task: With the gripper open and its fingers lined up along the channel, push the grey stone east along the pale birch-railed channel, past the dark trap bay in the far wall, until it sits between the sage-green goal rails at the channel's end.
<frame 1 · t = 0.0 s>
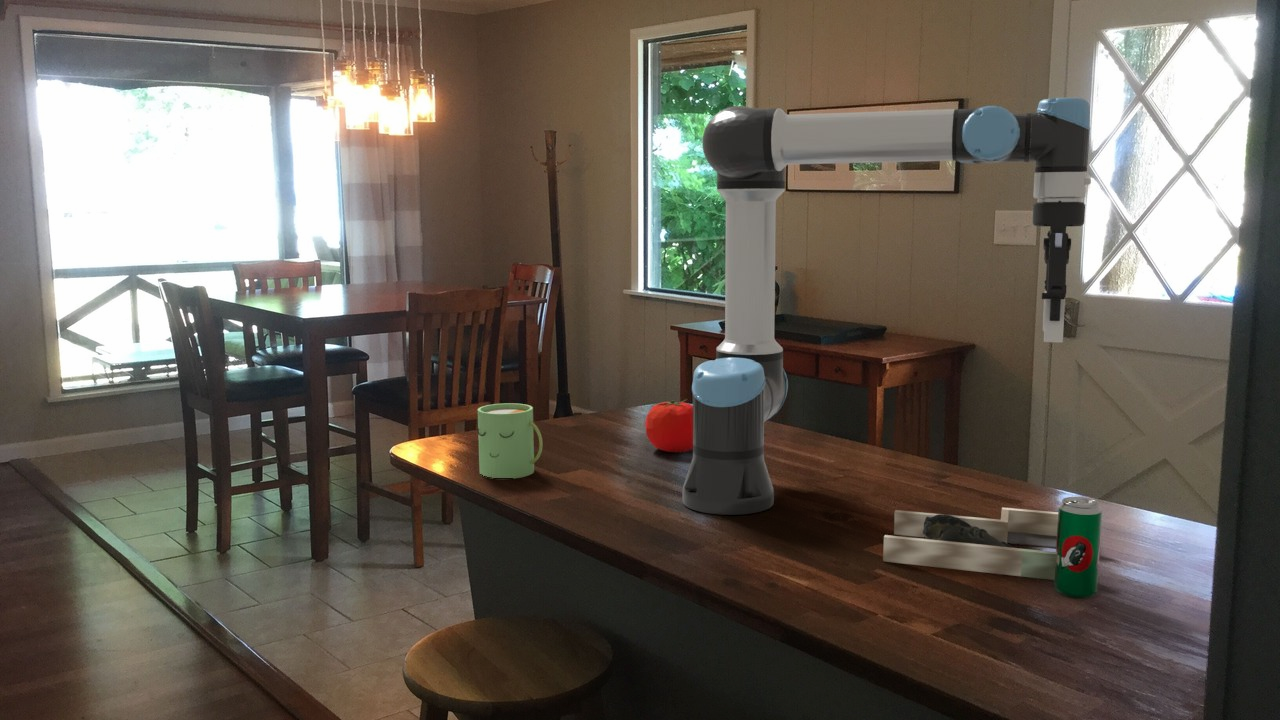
hand: (1052, 336, 166), 28 cm above the kitchen island, fingers open, 13 cm apart
soda can: (1075, 594, 134), on the kitchen island
tomato: (674, 451, 211), on the kitchen island
stone: (969, 557, 148), on the kitchen island
channel: (987, 556, 147), on the kitchen island
mug: (512, 473, 195), on the kitchen island
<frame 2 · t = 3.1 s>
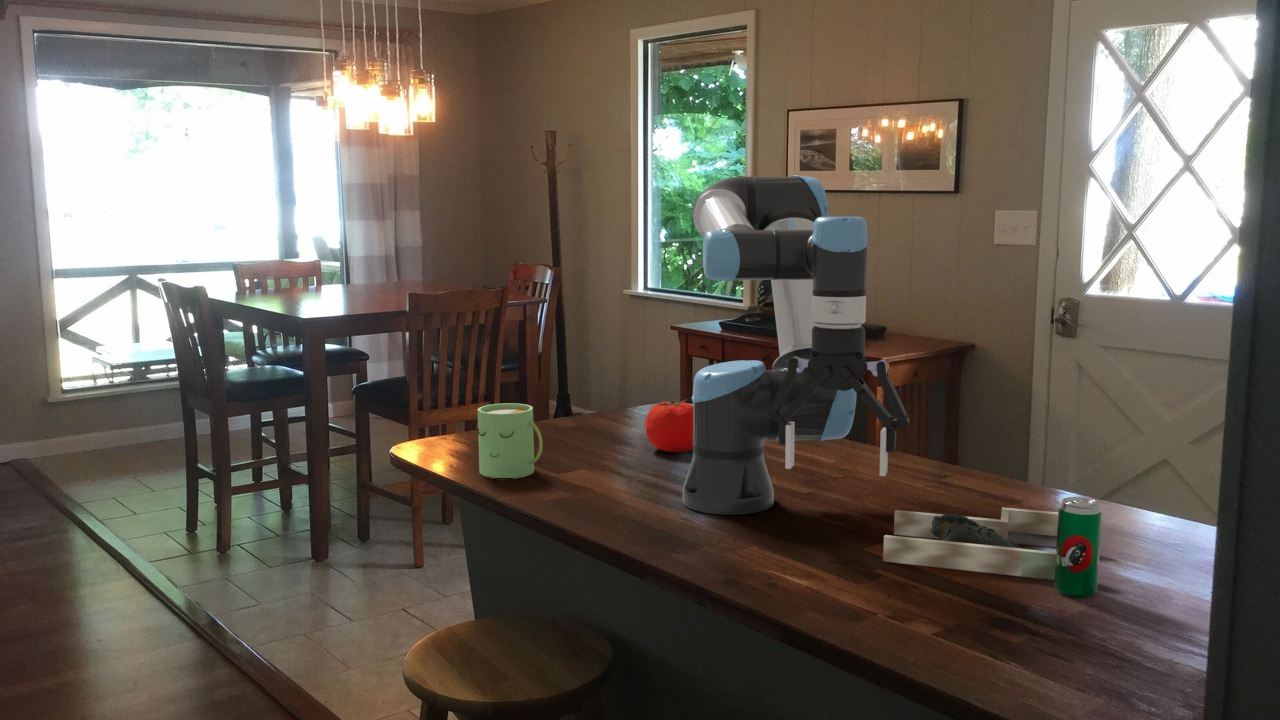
hand: (835, 470, 153), 11 cm above the kitchen island, fingers open, 13 cm apart
stone: (977, 556, 148), on the kitchen island
everything else where it was.
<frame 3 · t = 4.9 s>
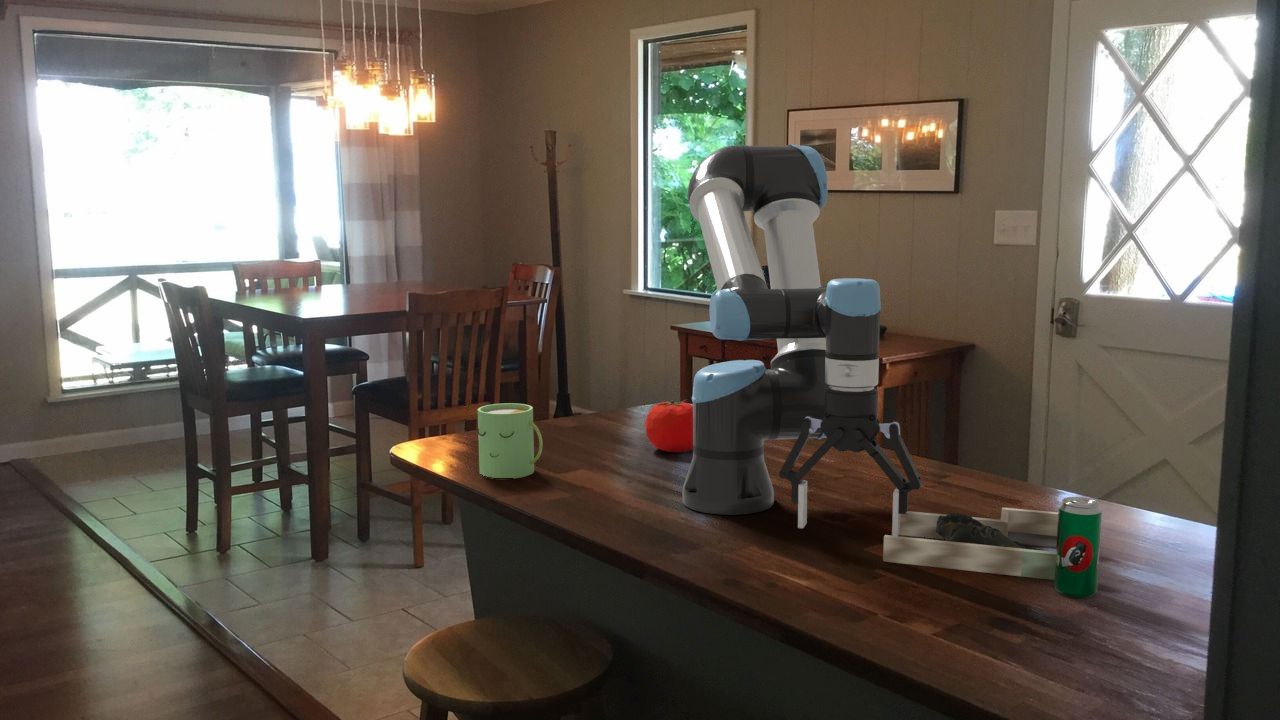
hand: (848, 530, 153), 2 cm above the kitchen island, fingers open, 13 cm apart
nothing on the kitchen island moved.
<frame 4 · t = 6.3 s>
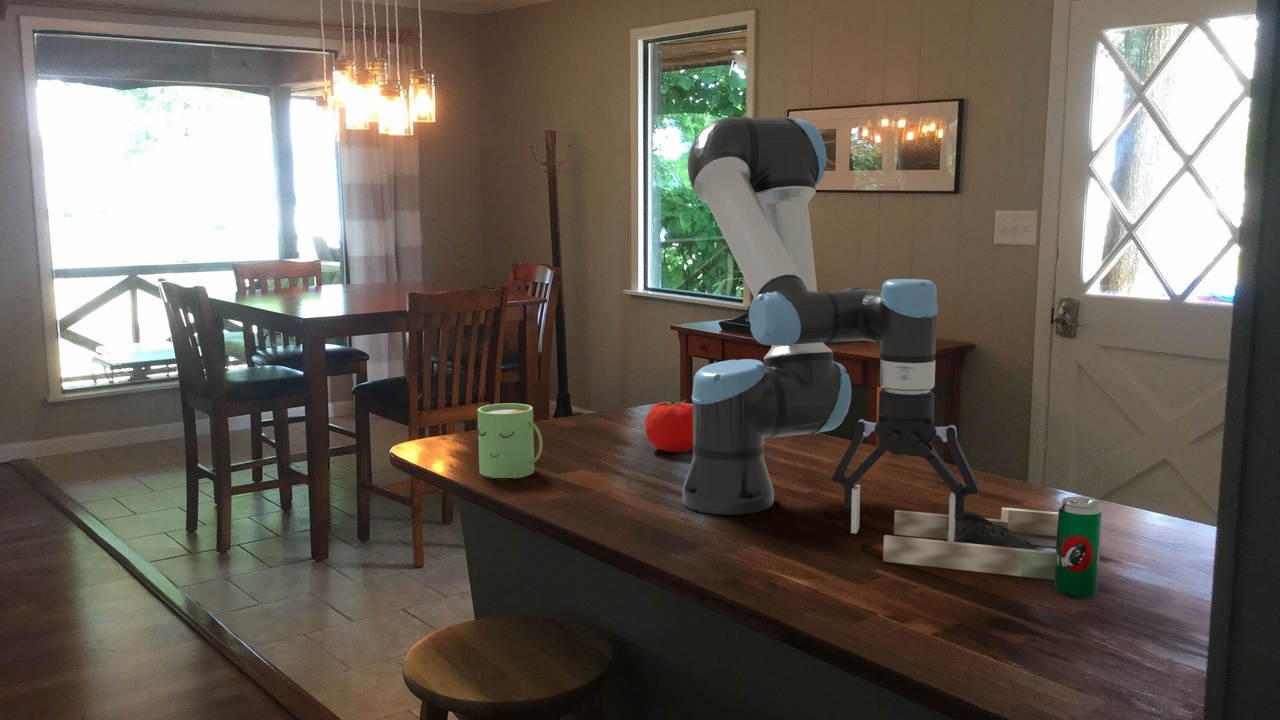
hand: (902, 535, 151), 2 cm above the kitchen island, fingers open, 13 cm apart
stone: (991, 555, 149), on the kitchen island, touching gripper
everything else where it was.
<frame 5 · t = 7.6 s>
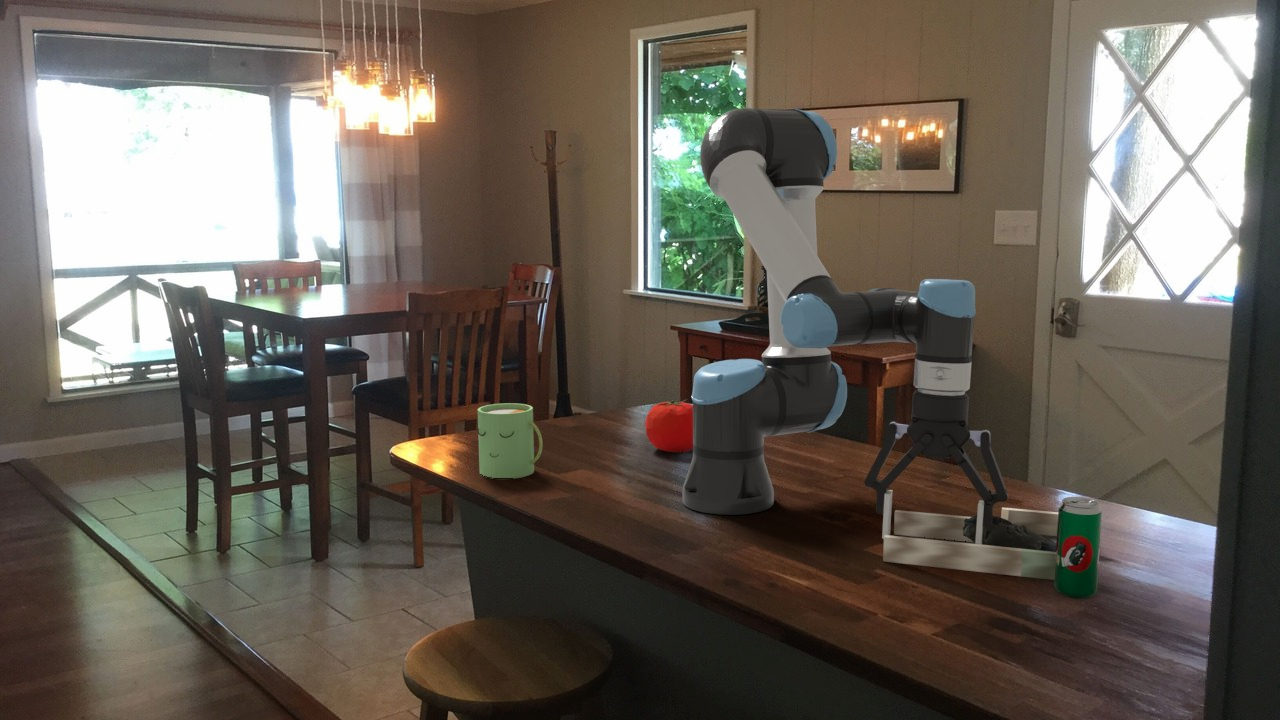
hand: (931, 542, 148), 2 cm above the kitchen island, fingers open, 12 cm apart
stone: (1010, 554, 149), on the kitchen island, touching channel, gripper
everything else where it was.
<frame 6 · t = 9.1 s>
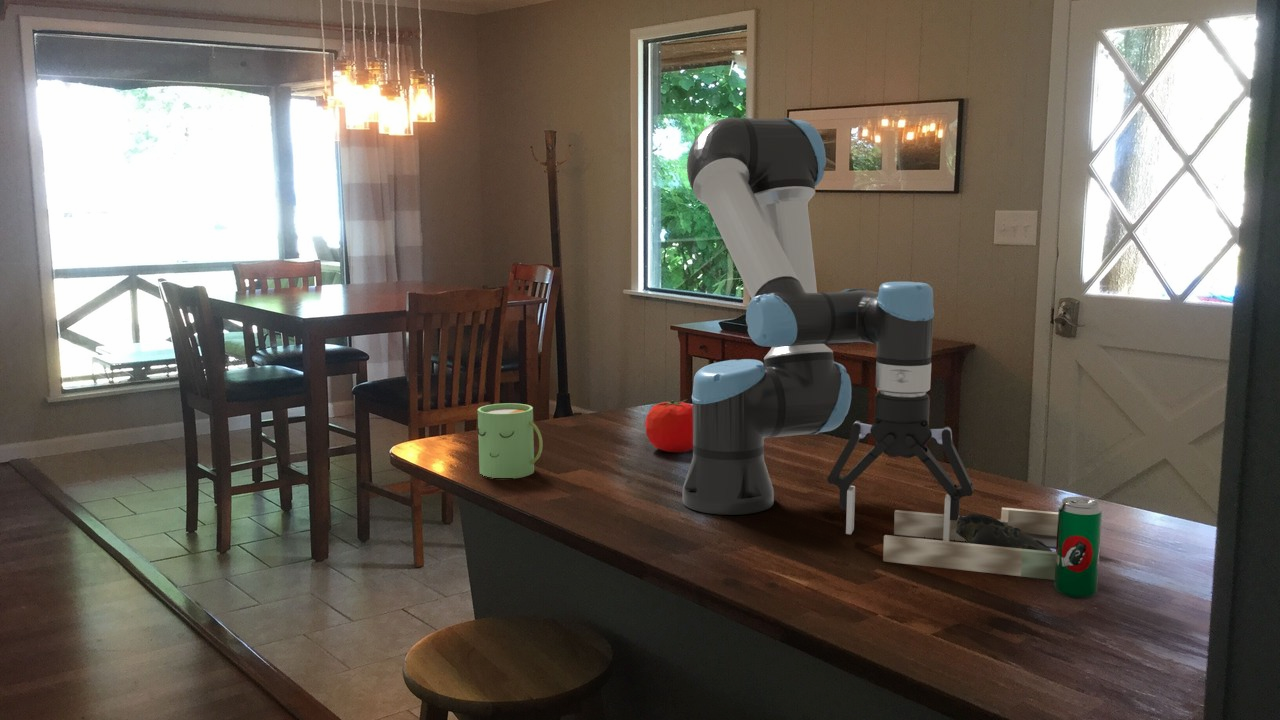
hand: (897, 536, 151), 2 cm above the kitchen island, fingers open, 13 cm apart
stone: (1003, 556, 148), on the kitchen island
everything else where it was.
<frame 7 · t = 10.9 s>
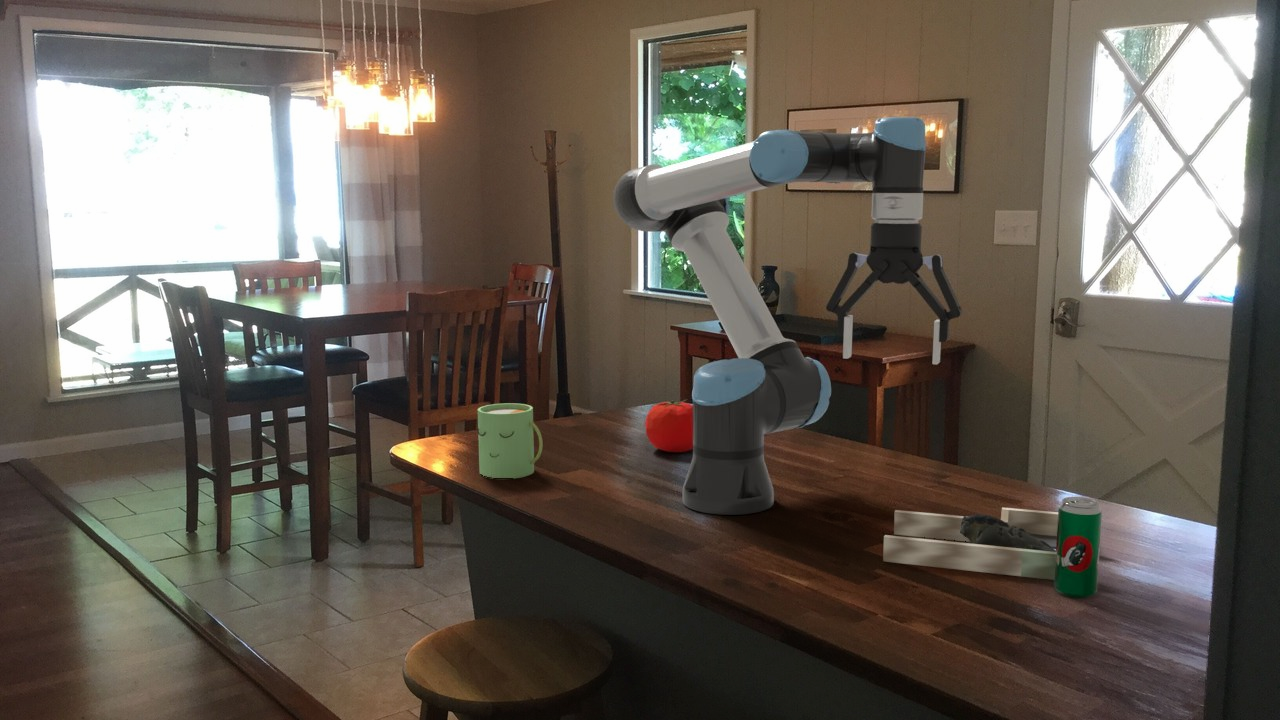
hand: (890, 360, 162), 25 cm above the kitchen island, fingers open, 13 cm apart
nothing on the kitchen island moved.
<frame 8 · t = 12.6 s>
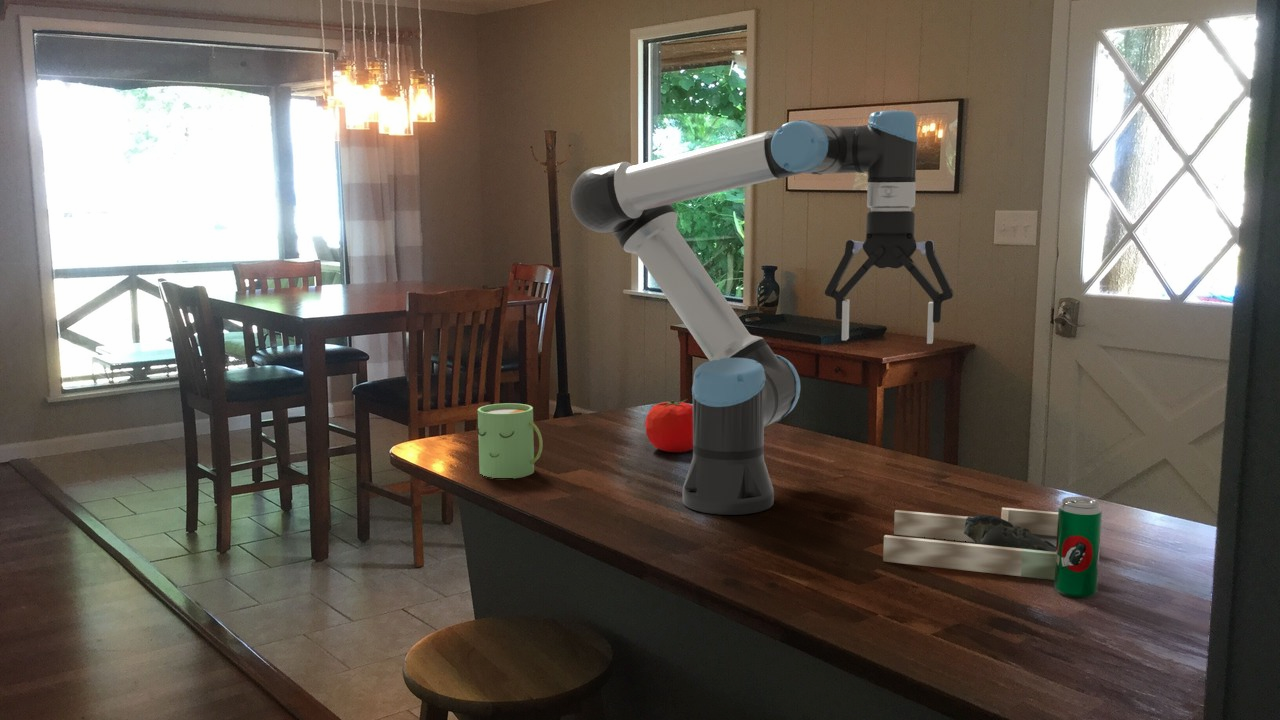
hand: (887, 341, 171), 27 cm above the kitchen island, fingers open, 13 cm apart
at the end: stone inside the target area (5.6 cm from its centre), on the kitchen island; stone moved 6.2 cm from its start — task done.
